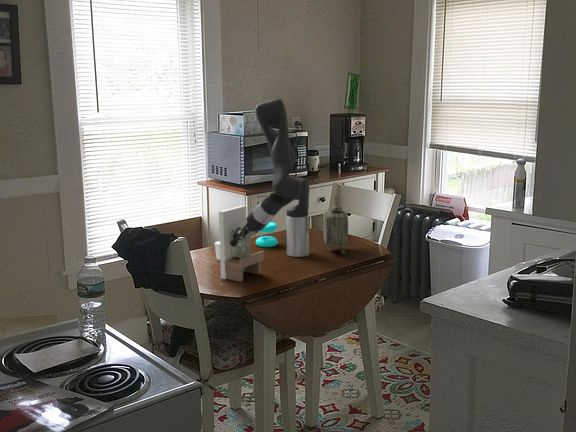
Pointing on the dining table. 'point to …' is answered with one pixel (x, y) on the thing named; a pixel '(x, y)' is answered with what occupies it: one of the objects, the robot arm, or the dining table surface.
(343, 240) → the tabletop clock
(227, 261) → the white display stand
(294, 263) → the dining table surface
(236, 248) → the sage cabinet
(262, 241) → the donuts
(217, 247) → the shot glass
